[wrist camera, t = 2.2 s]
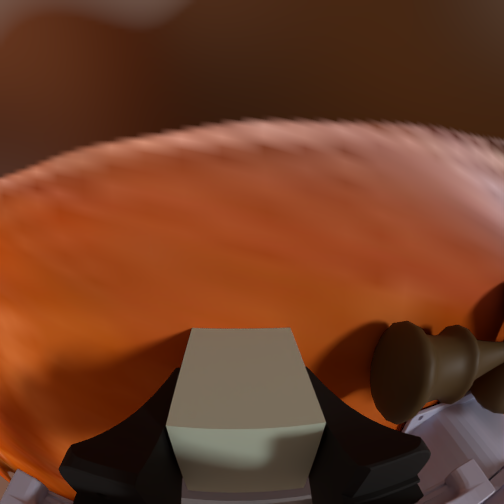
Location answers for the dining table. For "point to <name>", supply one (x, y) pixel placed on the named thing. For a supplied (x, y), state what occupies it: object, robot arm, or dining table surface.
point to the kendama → (434, 370)
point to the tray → (248, 496)
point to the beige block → (244, 412)
